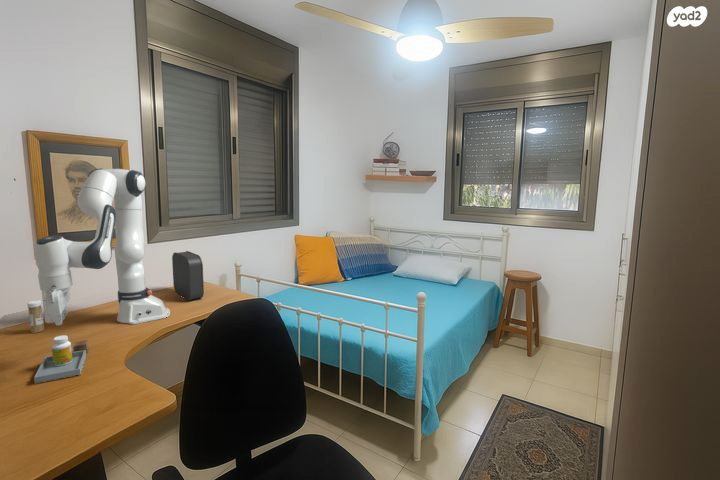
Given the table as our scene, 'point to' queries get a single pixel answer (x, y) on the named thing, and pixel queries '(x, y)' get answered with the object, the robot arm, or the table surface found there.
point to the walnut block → (81, 346)
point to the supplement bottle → (61, 351)
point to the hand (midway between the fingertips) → (61, 319)
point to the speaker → (188, 275)
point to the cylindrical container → (47, 318)
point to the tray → (60, 368)
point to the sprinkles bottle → (35, 316)
